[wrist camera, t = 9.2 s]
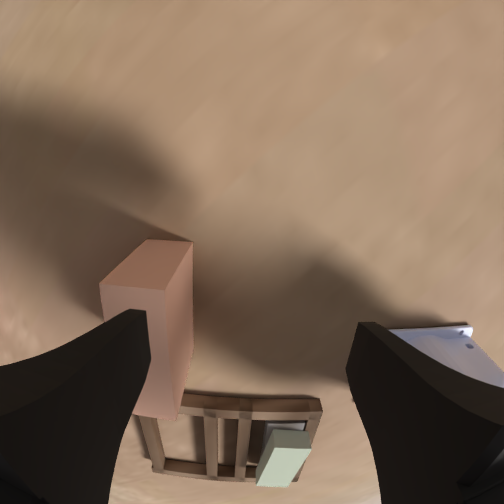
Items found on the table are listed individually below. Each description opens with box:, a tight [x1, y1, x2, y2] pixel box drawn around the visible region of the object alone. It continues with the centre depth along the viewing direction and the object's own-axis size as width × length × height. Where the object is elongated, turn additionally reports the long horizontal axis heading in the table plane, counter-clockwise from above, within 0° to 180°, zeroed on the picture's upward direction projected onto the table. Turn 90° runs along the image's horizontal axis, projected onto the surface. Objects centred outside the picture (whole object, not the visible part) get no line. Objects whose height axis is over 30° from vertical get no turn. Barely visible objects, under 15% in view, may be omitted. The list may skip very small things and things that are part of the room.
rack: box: [139, 393, 323, 482], centre depth 24 cm, size 15×12×2 cm
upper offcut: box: [256, 429, 312, 487], centre depth 22 cm, size 3×7×2 cm, turn 169°
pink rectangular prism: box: [99, 239, 194, 421], centre depth 17 cm, size 3×8×7 cm, turn 176°
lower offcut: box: [260, 420, 305, 459], centre depth 24 cm, size 3×9×2 cm, turn 177°
